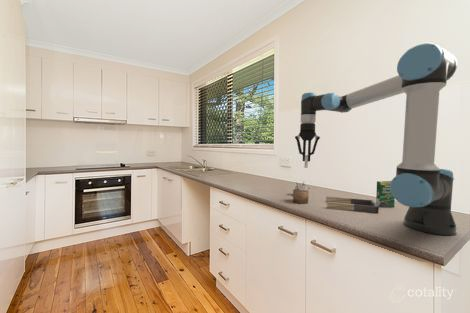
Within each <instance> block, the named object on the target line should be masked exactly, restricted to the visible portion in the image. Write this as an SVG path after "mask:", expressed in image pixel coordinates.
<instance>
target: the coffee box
mask: <svg viewBox="0 0 470 313" xmlns="http://www.w3.org/2000/svg"><path fill="white" fill-rule="evenodd" d="M391 181H392V180H384V181H383V180H378V181H376V202H375V204H376V205H377V206H378V207H379V208H395V205H396V204H395V203H396V202H395V201H396V199H395V198H394V197H393V196H392V194H391V191H390V183H391Z"/></svg>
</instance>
